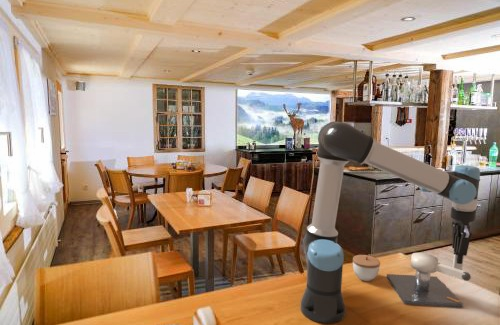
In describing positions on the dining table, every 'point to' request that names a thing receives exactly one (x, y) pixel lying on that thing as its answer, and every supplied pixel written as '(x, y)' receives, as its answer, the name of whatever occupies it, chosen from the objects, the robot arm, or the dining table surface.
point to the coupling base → (422, 296)
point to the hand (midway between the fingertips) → (457, 270)
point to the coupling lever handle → (435, 266)
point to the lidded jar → (366, 267)
